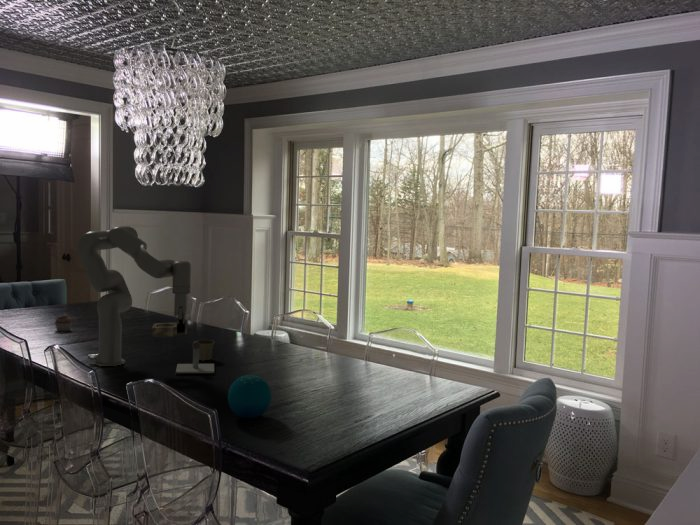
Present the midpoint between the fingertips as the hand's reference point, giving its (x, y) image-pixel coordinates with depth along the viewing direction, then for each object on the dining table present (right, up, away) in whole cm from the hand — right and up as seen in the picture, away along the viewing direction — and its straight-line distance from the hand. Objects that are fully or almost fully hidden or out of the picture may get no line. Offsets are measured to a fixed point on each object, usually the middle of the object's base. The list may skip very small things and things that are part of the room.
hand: (181, 331), depth 263 cm
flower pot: (+4, -16, +23) cm, 28 cm away
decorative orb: (+38, -24, -52) cm, 69 cm away
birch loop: (-5, -1, -1) cm, 5 cm away
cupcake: (-84, -8, +70) cm, 110 cm away
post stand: (+5, -18, +3) cm, 19 cm away
